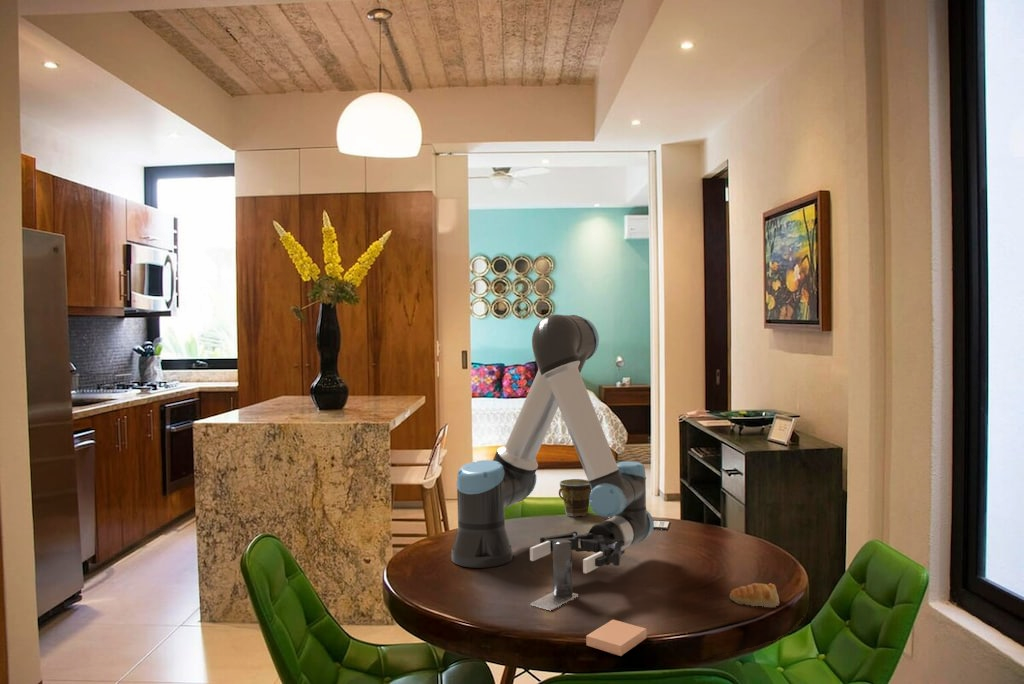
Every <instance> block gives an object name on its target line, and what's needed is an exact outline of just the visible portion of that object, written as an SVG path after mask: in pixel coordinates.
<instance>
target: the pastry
mask: <svg viewBox="0 0 1024 684" xmlns="http://www.w3.org/2000/svg"><path fill="white" fill-rule="evenodd" d="M729 599H730V600H731V601H732V602H734V603H736V604H738V605H743V604H745V606H749V605H751V606H750V607H754V606H756V607H757V606H762V607H761V608H777V607H776V606H778V607H779V606H780V598H779V594H778V591H777V587H776V585H775V584H774V583H771V582H770V583H768V584H766V583H755V582H754V583H753V582H752V583H751V584H747V585H744V586H743V585H741V586H740V587H736V588H732V589H731V591H730V593H729ZM763 606H764V607H763Z"/></svg>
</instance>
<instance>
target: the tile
mask: <svg viewBox="0 0 1024 684" xmlns="http://www.w3.org/2000/svg"><path fill="white" fill-rule="evenodd" d="M585 639H586V640H585V642H586V646H588V647H591V648H594V649H597V650H601V651H604V652H606V653H609V654H612V655H616V656H620V657H622V656H623V655H624V654H626V653H628V652H629V651H630V650H632V649H633V648H635V647H636V646H637V645H639V644H640V643H642V642H643V641H645V640H646V639H647V628H645V627H642V626H638V625H635V624H630V623H628V622H623V621H619V620H616V619H611V620H609V621H608V622H606V623H605V624H604V625H601V626H600V627H598V628H597V629H594V630H593V631H592V632H590V633H589V634H588V633H587V635H586V638H585Z"/></svg>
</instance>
